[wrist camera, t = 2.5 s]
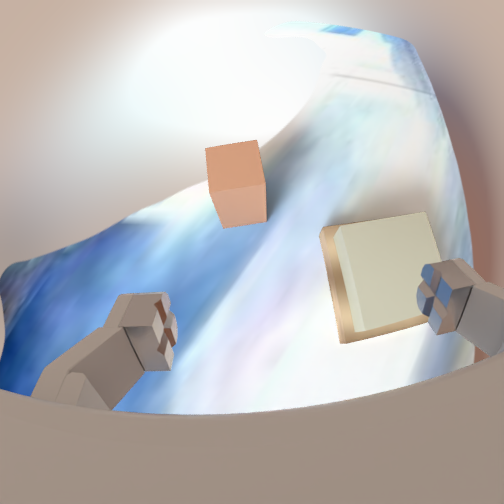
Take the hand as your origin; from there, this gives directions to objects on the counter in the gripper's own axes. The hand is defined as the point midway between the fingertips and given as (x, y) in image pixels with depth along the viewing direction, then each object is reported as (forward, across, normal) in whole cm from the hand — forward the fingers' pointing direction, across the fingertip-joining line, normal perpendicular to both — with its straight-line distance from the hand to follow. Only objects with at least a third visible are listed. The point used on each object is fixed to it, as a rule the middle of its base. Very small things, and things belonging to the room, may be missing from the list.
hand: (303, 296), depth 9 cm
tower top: (+15, -11, +10) cm, 21 cm away
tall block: (+23, +2, +6) cm, 24 cm away
